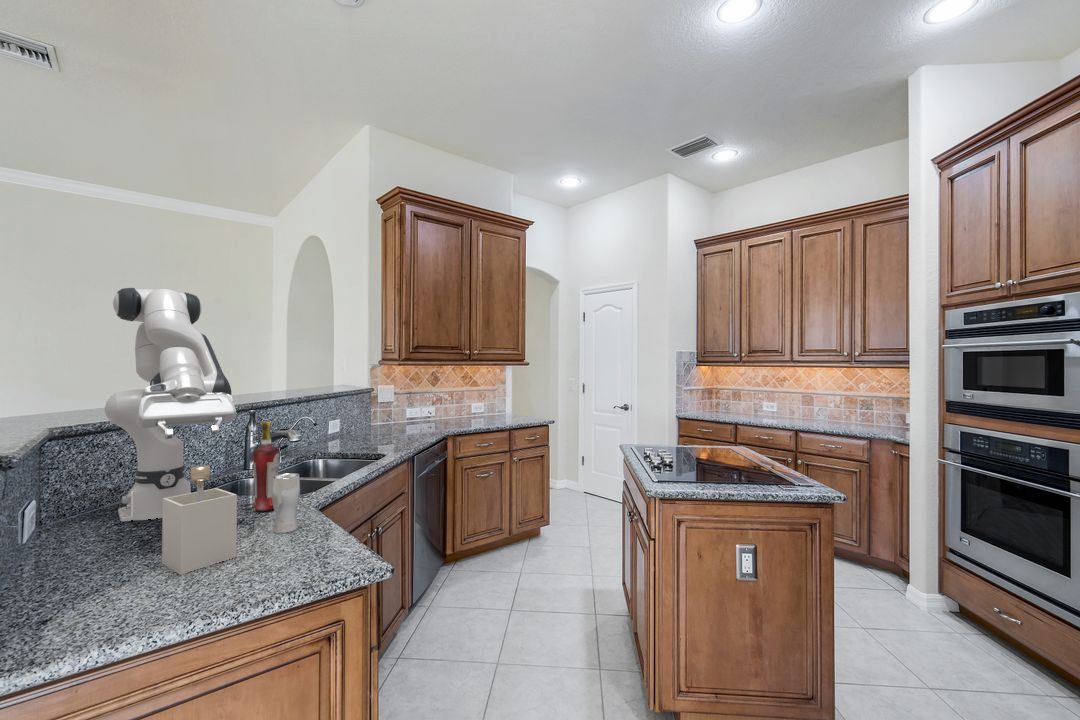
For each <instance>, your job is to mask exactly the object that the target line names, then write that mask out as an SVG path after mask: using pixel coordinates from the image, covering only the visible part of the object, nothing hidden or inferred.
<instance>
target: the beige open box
mask: <svg viewBox="0 0 1080 720" xmlns="http://www.w3.org/2000/svg"><path fill="white" fill-rule="evenodd" d="M237 502H238V494H236V493H233V492H230V491H228V490H223V489H220V488H218V487H216V488H215V487H213V488H210V489H205V490H204V489H203V501H201V502H197V491H194V492H191V493H189V494H183V495H178V496H173V497H168V498H163V518H161V519H162V531H161V533H162V534H161V536H162V537H161V564H162V565H163V566H166V567H167V568H169V569H170V570H171V571H174V572H175V573H176V574H178V575H180V576H182V574H183V575H185V573H186V574H188V572H189V573H191V572H190V571H192V572H195V571H198V570H197V569H199V570H201V569H200V568H202V569H204V568H203V567H205V568H207V567H206V566H208V567H210V566H209V565H211V566H214V565H213V564H215V563H218V564H220V563H219V562H221V563H223V562H222V561H224V562H227V561H230V560H233V559H232V558H234V559H236V558H237V541H238V540H237V539H238V538H237V537H238V536H237V533H238V532H237V530H238V529H237V525H238V524H237V522H238V521H237V518H238V516H237V515H238V514H237V513H238V512H237V509H238V507H237V506H238V503H237ZM235 557H236V558H235ZM229 559H230V560H229ZM226 560H227V561H226ZM215 565H216V564H215ZM194 570H195V571H194Z"/></svg>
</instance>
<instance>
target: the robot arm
mask: <svg viewBox="0 0 1080 720" xmlns="http://www.w3.org/2000/svg"><path fill="white" fill-rule="evenodd" d="M112 306H113V309H114V312H115V315H116V316H117V317H118V318H120V319H121V320H123V321H128V322H132V323H133V322H138V323H139V322H141V323H140V325H139V326H138V327H137V329H136V330H137V331H136V335H135V344H134V353H135V368H136V369H135V372H136V373H137V376H138V377H140V379H142V380H143V381H145V382H148V383H149V385H147V386H145V387H143V389H130V390H124V391H119V392H116V393H113V394H112V395H111V396H110V397H109V398H108V399H107V401H106V402H105V405H104V406H105V407H104V412H105V416H106V417H107V420H109V421H110V422H111V423H112V424H114V425H115V426H116V427H119V428H121V429H123V430H124V431H125V432H126V433H128V435H130V437H131V439H132V440H133V442H134V444H135V448H136V455H137V470H136V471H135V475H134V482H135V483H134V485H133V486H132V487H131V488H130V490H129V491H128V493H127V494H126V495H122V496H121V503H122V504H126V506H123V507H119V508H118V510H117V513H118V517H119V520H120V522H131V520H133V521H149V520H148V519H151V520H157V519H156V518H158V519H162V518H163V498H168V497H173V496H178V495H183V494H189V493H192V492H191V491H192V490H191V483H190V482H191V481H189V480H187V479H186V478H185V476H186V467H185V465H184V443H183V440H181V438H179V437H178V436H175V435H174V432H173V428H167V427H175V426H186V425H188V426H189V425H202V424H214V425H211V426H210V435H212V436H213V435H219V434H220V427H221V425H222V423H228V422H232V421H233V420H234V419H235V418H236V415H237V409H236V406H235V404H234V398H233V395H232V393H233V392H232V387H231V384H230V381H229V380H228V379H227V377H226V375H225V374H224V372H223V370H222V368H221V366H220V363H219V361H218V358H217V355H216V353H215V351H214V348H213V347H212V343H211V342H210V340H209V339H208V337H207V336H206V335H205V334H203V333H201V332H199V331H198V330H197V329H196V328H195V327H194V326H193V324H195V323H197V321H198V320H199V318H200V316H201V314H202V304H201V301H200V299H199V297H198V296H197V295H195V294H193V293H189V292H180V291H175V290H173V289H169V288H158V289H156V288H155V289H154V288H135V287H125V288H121V289H120V290H117V292H116V293H115V296H114V298H113V301H112ZM202 375H203V376H202Z"/></svg>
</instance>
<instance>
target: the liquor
mask: <svg viewBox="0 0 1080 720" xmlns="http://www.w3.org/2000/svg"><path fill="white" fill-rule="evenodd" d="M271 430H272V421H262V422H261V431H262V432H261V441H260V447H258V448H255V449H254V450H253V451H252V459H253V460H252V463H253V464H252V466H253V467H252V468H253V480H254V483H253V484H254V505H253V509H254V510H256V511H257V512H258V511H267V512H270V511H269V510H271V511H273V510H274V507H273V502H272V482H273V477H274V476H276V475H279V467H280V464H279V462H280V449H279V448H278V447H276V446H274V445H273V444H272V435H271ZM272 509H273V510H272Z"/></svg>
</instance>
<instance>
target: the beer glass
mask: <svg viewBox="0 0 1080 720" xmlns="http://www.w3.org/2000/svg"><path fill="white" fill-rule="evenodd" d="M300 495H301V482H300V473H296V472H295V473H292V472H291V473H282V474H281V473H280V474H278V475H276V476H274V477H273V482H272V502H273V507H274V509H273V513H274V526H273V532H274V533H275V534H287V533H288V534H289V533H292V532H295V531H297V530H298V529H299V523H298V517H297V515H298V507H299V503H300Z"/></svg>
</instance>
